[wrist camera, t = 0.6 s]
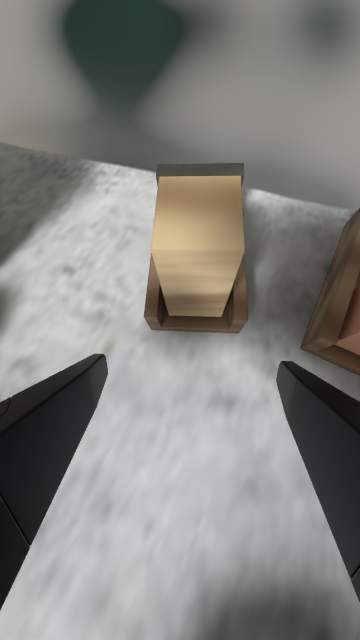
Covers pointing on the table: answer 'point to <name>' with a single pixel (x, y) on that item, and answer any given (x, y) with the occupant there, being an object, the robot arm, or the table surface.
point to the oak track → (237, 299)
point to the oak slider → (198, 242)
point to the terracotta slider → (351, 325)
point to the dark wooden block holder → (337, 301)
